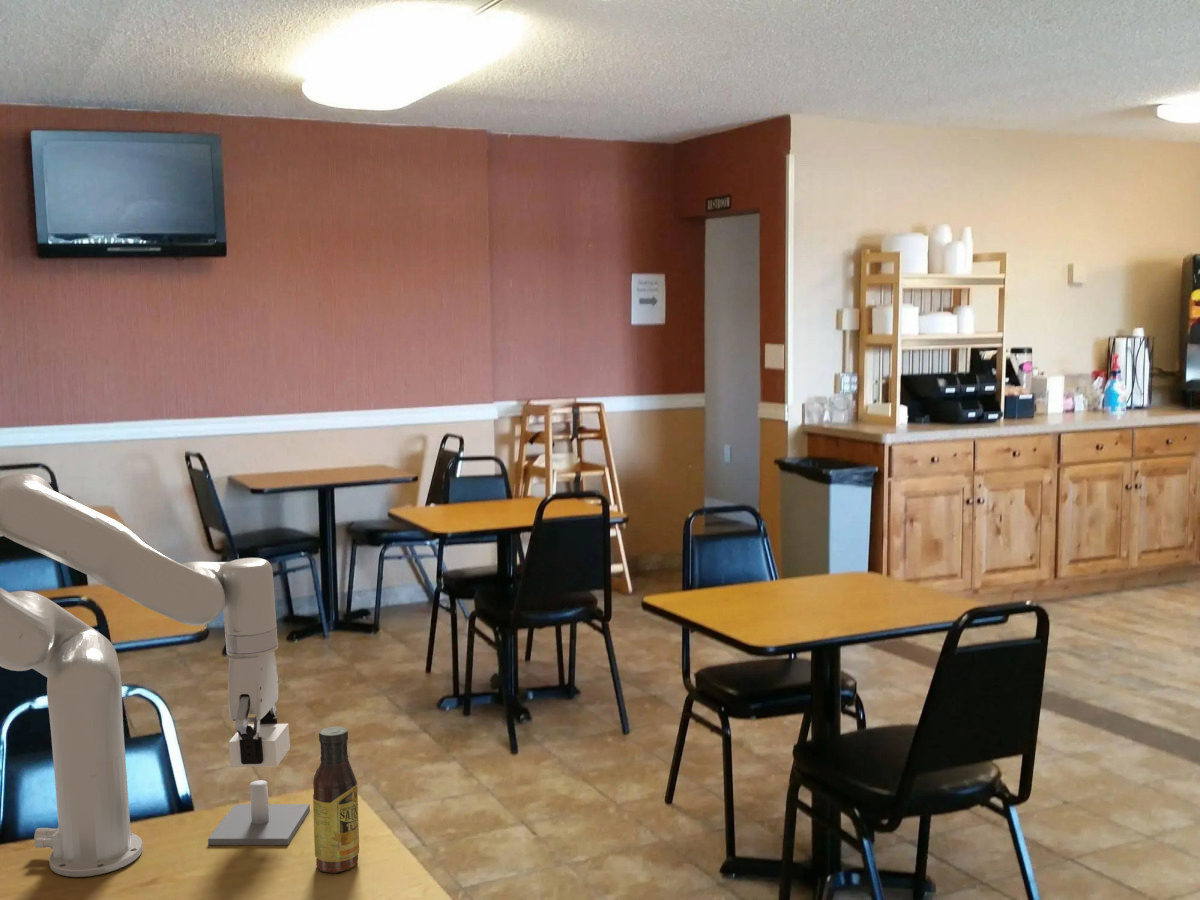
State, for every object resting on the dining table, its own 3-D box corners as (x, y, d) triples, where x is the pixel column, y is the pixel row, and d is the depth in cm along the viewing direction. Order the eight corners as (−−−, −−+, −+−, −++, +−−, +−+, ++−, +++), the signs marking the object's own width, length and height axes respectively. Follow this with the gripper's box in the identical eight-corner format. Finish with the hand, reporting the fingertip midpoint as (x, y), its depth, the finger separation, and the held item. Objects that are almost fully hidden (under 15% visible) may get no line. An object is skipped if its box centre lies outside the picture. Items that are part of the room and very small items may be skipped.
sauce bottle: (349, 877, 166) (343, 741, 164) (307, 873, 167) (301, 738, 165) (367, 855, 173) (362, 724, 170) (327, 852, 174) (321, 722, 171)
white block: (230, 767, 178) (228, 741, 177) (245, 749, 185) (243, 724, 184) (276, 766, 178) (275, 740, 177) (290, 748, 184) (288, 723, 184)
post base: (208, 845, 177) (205, 800, 176) (235, 810, 188) (232, 768, 188) (288, 845, 176) (285, 800, 175) (309, 810, 188) (307, 768, 187)
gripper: (245, 624, 187) (254, 732, 190) (206, 659, 170) (216, 777, 173) (292, 623, 187) (300, 731, 190) (258, 658, 170) (267, 776, 172)
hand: (260, 752), depth 181 cm, fingers closed on white block, 7 cm apart
